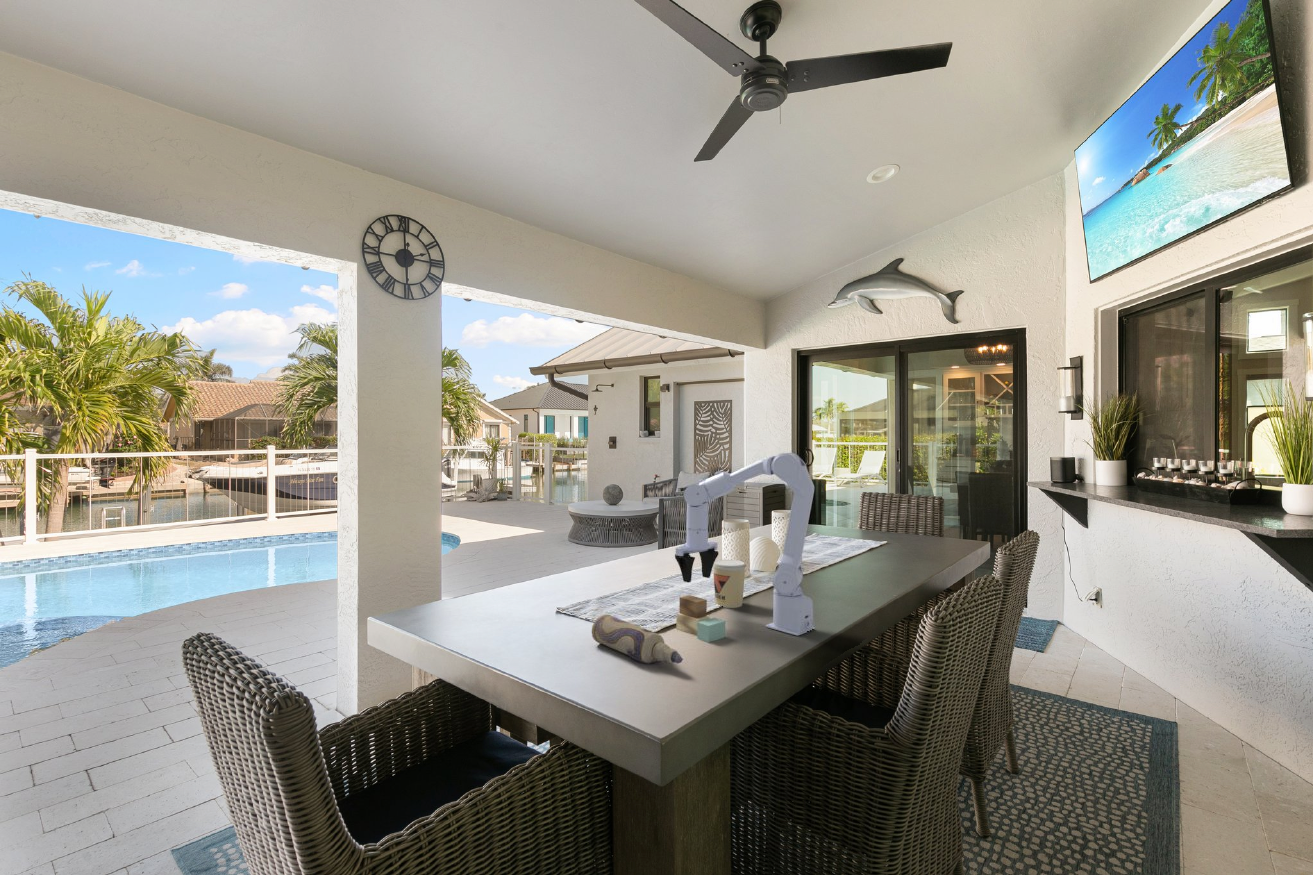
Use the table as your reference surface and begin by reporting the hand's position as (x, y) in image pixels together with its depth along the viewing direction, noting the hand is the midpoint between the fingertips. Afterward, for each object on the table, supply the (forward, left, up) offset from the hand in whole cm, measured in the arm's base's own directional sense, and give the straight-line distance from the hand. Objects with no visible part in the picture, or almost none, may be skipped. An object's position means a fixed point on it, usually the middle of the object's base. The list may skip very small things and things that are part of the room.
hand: (696, 579), depth 160 cm
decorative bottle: (-11, +32, -10) cm, 35 cm away
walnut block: (-7, +9, -6) cm, 13 cm away
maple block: (-7, +9, -10) cm, 15 cm away
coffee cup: (+2, -16, -10) cm, 19 cm away
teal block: (-14, +10, -10) cm, 20 cm away
